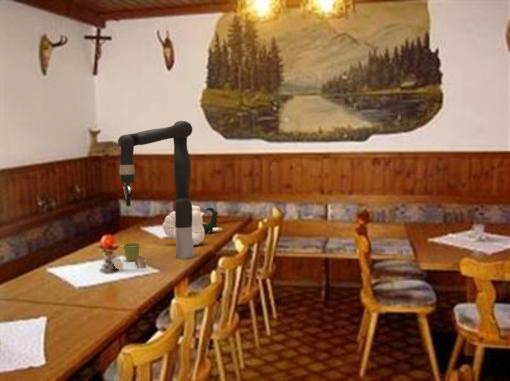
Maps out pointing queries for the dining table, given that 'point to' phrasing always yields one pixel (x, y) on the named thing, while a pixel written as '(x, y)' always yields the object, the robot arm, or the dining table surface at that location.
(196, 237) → the decorative rooster
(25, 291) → the dining table surface
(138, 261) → the walnut block
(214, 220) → the toy figurine
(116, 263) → the slate-grey block
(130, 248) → the plant pot
